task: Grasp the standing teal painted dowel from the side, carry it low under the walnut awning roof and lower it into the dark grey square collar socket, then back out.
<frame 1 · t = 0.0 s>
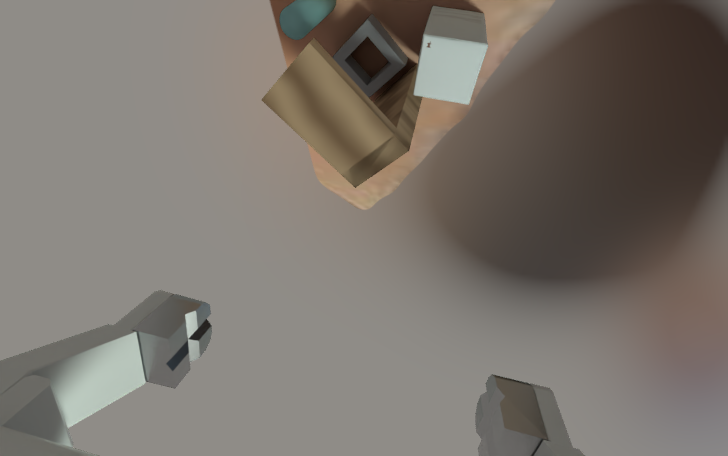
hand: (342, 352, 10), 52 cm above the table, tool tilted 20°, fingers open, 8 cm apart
awning: (371, 55, 55), on the table
socket: (371, 55, 55), on the table
supplement box: (452, 37, 51), on the table
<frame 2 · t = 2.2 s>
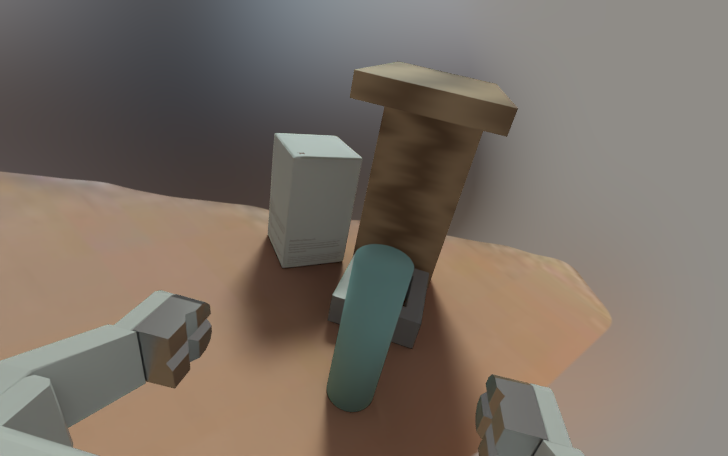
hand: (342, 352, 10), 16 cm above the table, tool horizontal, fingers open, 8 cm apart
awning: (378, 306, 36), on the table
socket: (378, 306, 36), on the table
peg: (350, 389, 27), on the table
supplement box: (304, 248, 42), on the table
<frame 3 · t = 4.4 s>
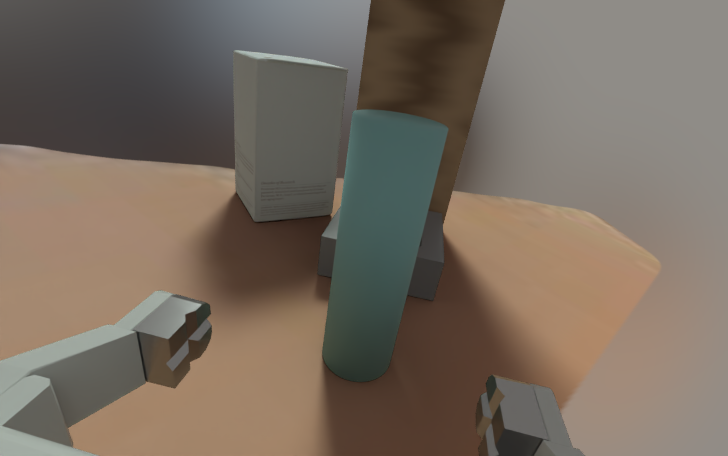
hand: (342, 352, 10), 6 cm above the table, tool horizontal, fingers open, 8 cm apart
awning: (382, 257, 28), on the table
socket: (382, 257, 28), on the table
peg: (356, 352, 19), on the table
supplement box: (282, 204, 34), on the table
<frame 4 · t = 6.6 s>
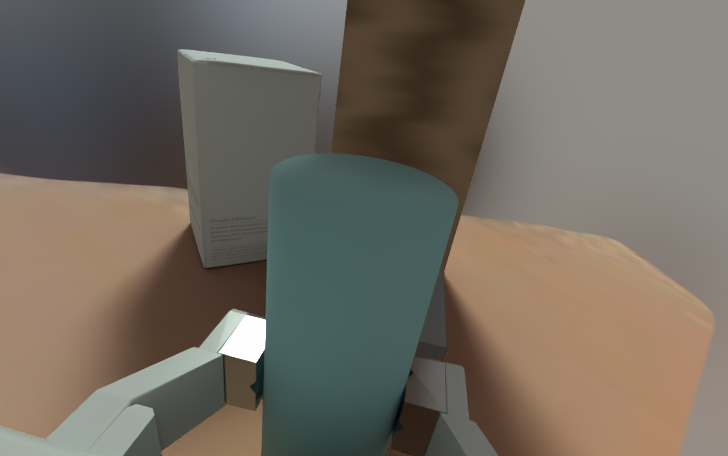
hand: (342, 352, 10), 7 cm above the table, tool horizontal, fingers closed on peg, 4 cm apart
awning: (365, 319, 21), on the table
socket: (365, 319, 21), on the table
supplement box: (247, 239, 28), on the table
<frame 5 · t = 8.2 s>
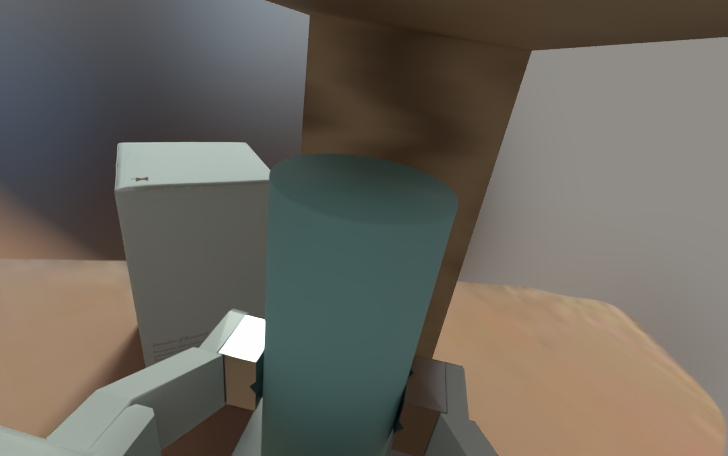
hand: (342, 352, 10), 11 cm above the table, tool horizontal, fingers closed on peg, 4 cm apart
supplement box: (207, 336, 25), on the table
when the fingers open (8 cm above the table, at t = 10.0 s): peg drops 1 cm, resting in socket.
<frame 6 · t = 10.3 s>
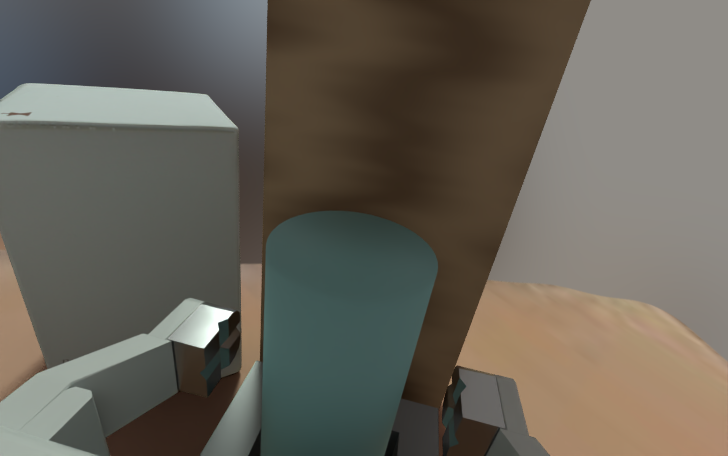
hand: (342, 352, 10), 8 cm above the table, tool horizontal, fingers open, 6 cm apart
supplement box: (159, 345, 19), on the table
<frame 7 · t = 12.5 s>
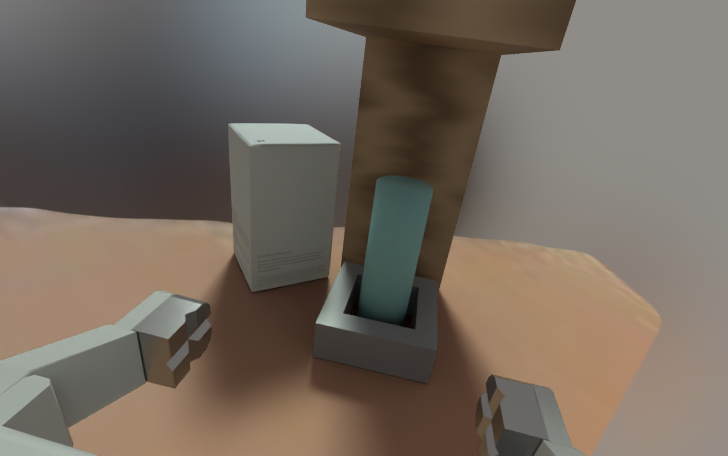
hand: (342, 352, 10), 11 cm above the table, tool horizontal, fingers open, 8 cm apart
awning: (378, 330, 28), on the table
socket: (378, 330, 28), on the table
peg: (378, 330, 28), resting in socket
supplement box: (280, 265, 34), on the table
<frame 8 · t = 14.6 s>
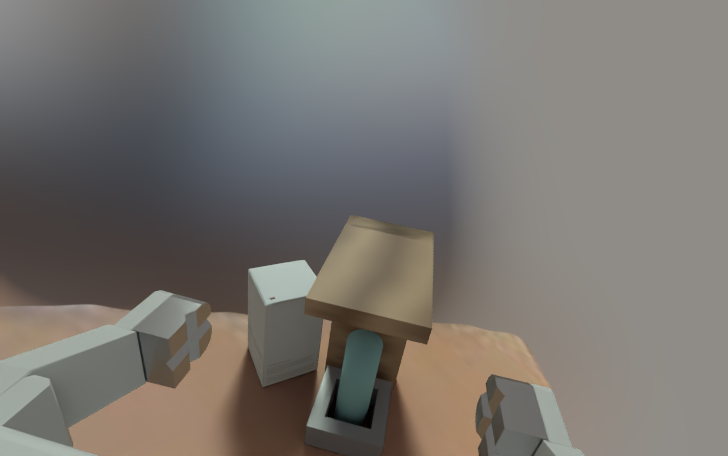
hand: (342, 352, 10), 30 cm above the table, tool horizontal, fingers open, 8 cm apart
awning: (349, 419, 41), on the table
socket: (349, 419, 41), on the table
peg: (349, 419, 41), resting in socket
supplement box: (281, 358, 47), on the table
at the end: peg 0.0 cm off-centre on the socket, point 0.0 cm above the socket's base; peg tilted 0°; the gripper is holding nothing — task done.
